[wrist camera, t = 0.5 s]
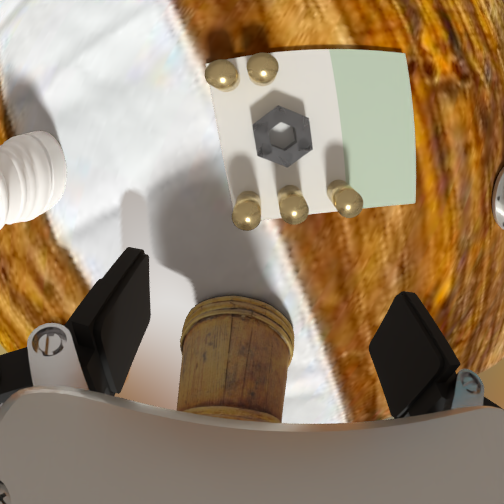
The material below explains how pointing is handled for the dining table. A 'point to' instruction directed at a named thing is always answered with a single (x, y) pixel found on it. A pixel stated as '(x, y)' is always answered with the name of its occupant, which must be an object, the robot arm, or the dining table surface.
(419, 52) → the dining table surface
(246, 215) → the spacers
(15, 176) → the honey pot
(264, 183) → the mat
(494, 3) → the dining table surface
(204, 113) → the dining table surface
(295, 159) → the nut
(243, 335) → the tankard
